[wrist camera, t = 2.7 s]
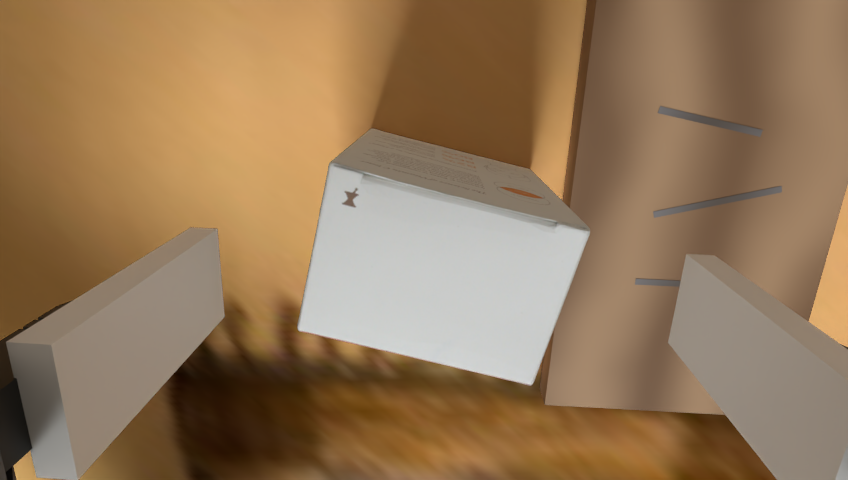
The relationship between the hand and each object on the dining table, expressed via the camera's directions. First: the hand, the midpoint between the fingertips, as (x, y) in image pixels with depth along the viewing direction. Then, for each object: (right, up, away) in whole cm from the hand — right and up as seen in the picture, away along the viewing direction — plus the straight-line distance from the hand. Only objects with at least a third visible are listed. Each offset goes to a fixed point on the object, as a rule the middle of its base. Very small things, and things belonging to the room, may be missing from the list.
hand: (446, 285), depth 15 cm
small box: (0, +3, +11) cm, 12 cm away
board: (+12, +2, +11) cm, 16 cm away
